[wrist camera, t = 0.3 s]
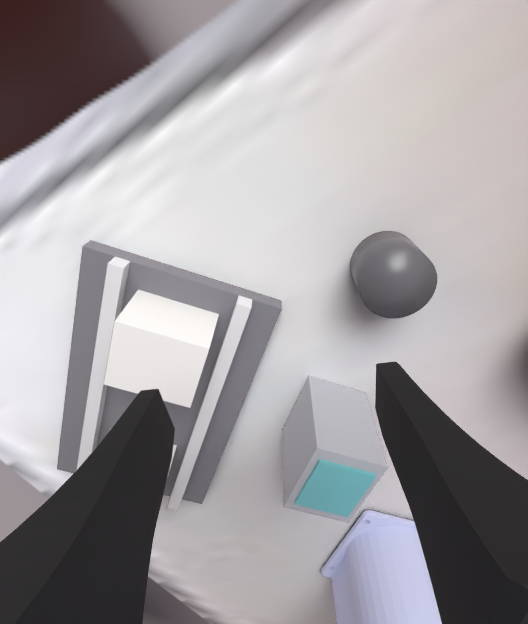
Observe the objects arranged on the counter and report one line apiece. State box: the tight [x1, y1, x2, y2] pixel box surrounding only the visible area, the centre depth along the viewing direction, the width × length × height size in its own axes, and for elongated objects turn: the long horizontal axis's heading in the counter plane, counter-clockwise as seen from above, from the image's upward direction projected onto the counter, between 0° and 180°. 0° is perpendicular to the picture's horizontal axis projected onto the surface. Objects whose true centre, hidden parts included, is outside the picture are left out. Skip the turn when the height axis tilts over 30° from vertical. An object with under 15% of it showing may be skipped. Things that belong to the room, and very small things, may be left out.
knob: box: [350, 231, 437, 318], centre depth 20 cm, size 4×4×3 cm
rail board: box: [57, 241, 281, 511], centre depth 24 cm, size 18×11×4 cm, turn 161°
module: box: [282, 376, 388, 523], centre depth 24 cm, size 5×4×6 cm
